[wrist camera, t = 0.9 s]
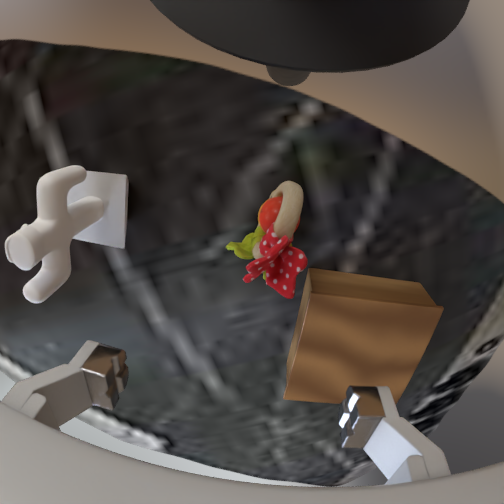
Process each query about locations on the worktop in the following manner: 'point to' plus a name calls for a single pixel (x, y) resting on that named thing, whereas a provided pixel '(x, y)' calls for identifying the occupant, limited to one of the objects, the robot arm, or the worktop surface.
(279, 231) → the bird rattle
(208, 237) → the worktop surface
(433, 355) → the worktop surface
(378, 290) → the wooden block
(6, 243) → the figurine
